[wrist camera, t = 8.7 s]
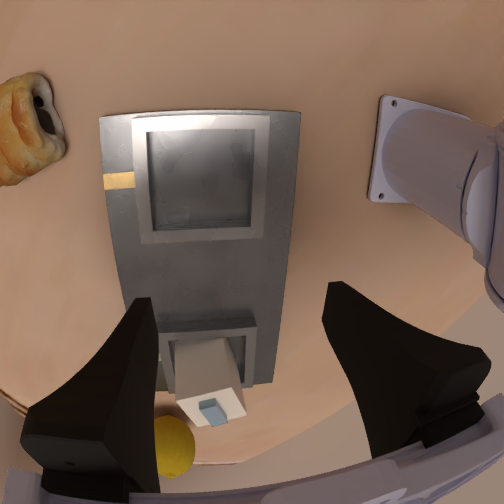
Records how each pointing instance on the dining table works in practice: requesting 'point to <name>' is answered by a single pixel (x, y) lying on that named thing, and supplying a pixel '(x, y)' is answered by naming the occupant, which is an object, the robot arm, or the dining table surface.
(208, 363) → the plug
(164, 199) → the panel
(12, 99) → the pastry
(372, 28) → the dining table surface
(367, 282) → the dining table surface
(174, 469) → the lemon
